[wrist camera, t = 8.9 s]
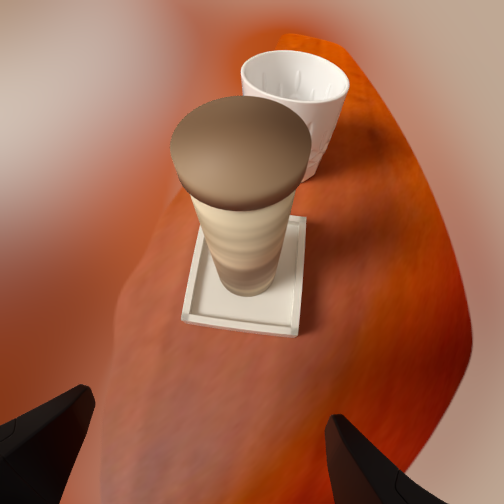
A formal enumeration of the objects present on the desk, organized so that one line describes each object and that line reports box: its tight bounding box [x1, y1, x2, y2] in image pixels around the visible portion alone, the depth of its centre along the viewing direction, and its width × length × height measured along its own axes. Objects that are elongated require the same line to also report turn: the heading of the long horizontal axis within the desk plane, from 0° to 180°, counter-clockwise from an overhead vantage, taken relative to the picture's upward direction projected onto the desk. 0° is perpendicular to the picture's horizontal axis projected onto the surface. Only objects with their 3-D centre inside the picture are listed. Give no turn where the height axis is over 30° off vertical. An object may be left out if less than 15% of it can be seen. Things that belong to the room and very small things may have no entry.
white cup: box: [241, 50, 349, 182], centre depth 21 cm, size 8×8×10 cm
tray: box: [181, 215, 306, 338], centre depth 21 cm, size 9×8×2 cm
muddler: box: [170, 96, 312, 297], centre depth 14 cm, size 5×5×13 cm
